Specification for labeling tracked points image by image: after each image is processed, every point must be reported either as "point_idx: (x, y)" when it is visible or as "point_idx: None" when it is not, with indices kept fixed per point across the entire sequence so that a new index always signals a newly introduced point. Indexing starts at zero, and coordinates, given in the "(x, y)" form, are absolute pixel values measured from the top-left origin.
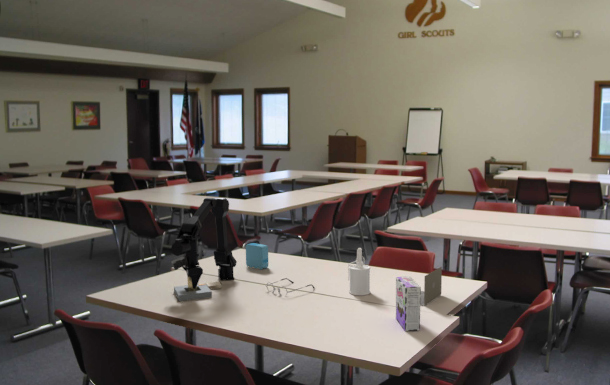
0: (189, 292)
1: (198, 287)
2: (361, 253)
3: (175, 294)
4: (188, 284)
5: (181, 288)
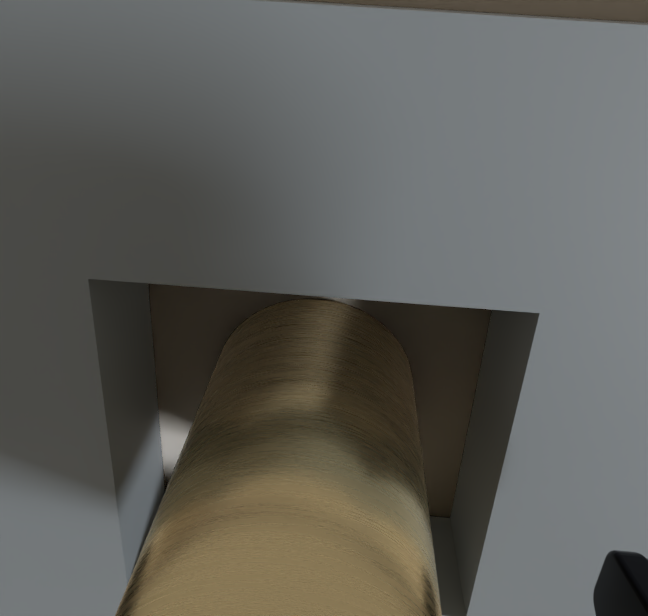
0: (11, 340)
1: (460, 593)
2: None
3: (527, 15)
4: (221, 493)
5: (528, 242)
